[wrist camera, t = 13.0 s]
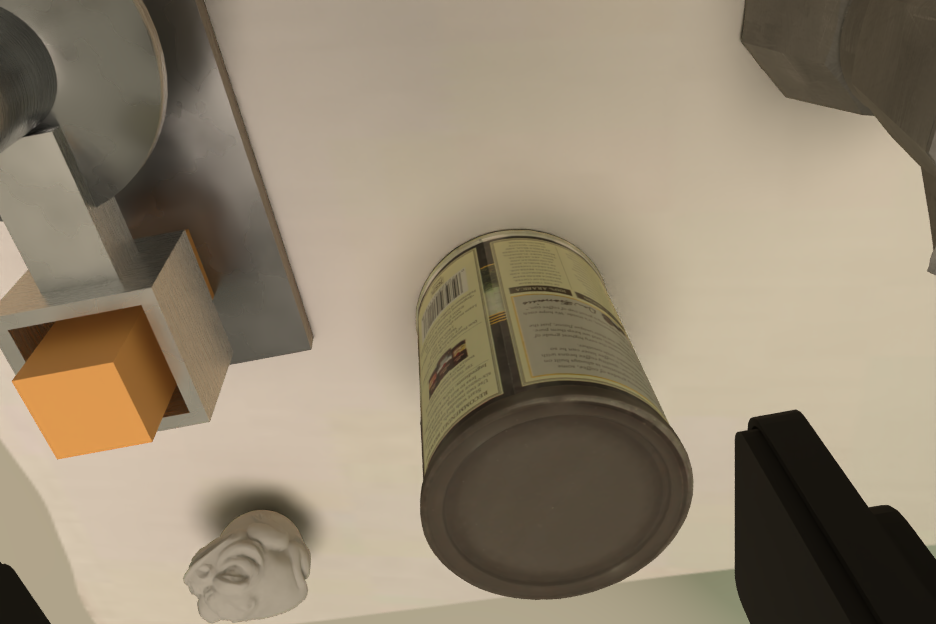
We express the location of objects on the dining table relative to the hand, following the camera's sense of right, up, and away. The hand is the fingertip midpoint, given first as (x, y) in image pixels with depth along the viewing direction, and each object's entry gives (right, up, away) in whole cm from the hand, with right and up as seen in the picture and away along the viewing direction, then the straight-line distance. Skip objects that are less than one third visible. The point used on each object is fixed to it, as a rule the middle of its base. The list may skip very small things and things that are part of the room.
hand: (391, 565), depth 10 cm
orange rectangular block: (-13, +5, +27) cm, 31 cm away
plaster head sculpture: (-11, -9, +38) cm, 40 cm away
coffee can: (+3, +3, +32) cm, 32 cm away
